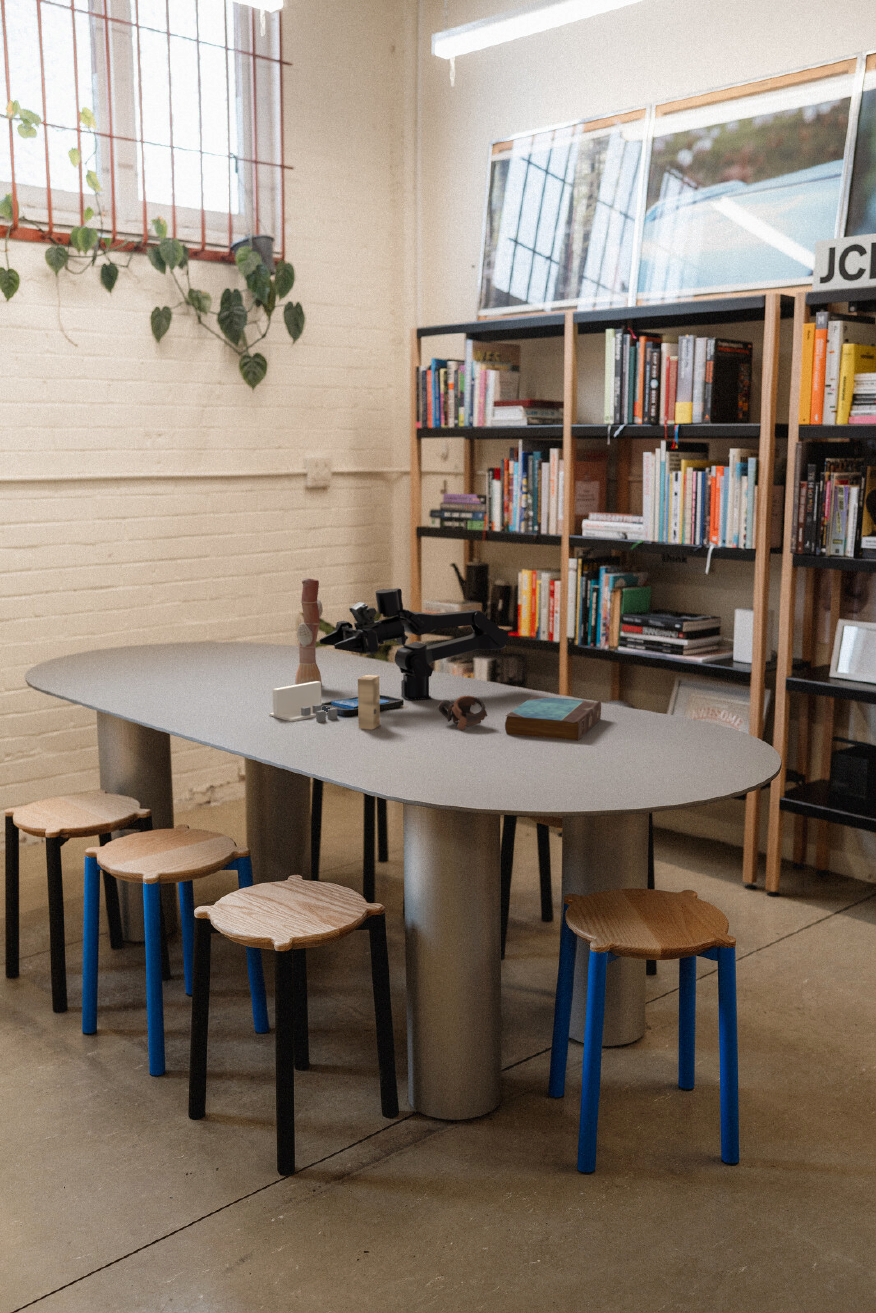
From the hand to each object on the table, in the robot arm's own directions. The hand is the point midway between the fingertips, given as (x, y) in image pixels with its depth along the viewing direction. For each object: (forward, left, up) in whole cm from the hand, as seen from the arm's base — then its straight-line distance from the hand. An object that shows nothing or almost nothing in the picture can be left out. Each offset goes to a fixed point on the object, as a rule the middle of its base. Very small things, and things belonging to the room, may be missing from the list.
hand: (327, 644), depth 298 cm
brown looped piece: (-25, +30, -17) cm, 42 cm away
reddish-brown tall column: (-3, -31, -17) cm, 36 cm away
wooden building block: (-4, +23, -17) cm, 29 cm away
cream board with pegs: (+6, +7, -17) cm, 19 cm away
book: (-45, +39, -17) cm, 62 cm away
